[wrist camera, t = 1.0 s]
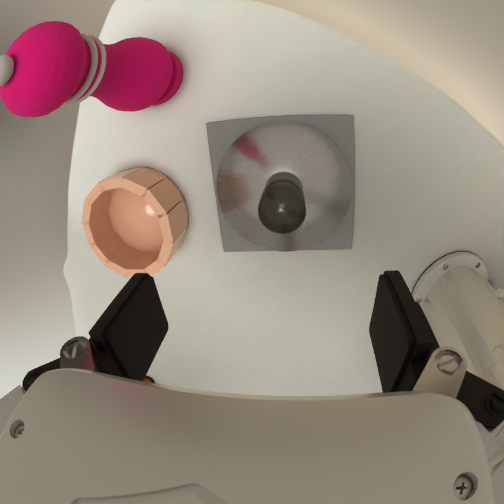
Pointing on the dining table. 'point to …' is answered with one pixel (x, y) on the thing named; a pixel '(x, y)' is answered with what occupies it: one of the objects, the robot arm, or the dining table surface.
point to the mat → (329, 125)
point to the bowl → (135, 220)
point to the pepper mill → (84, 71)
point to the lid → (284, 186)
